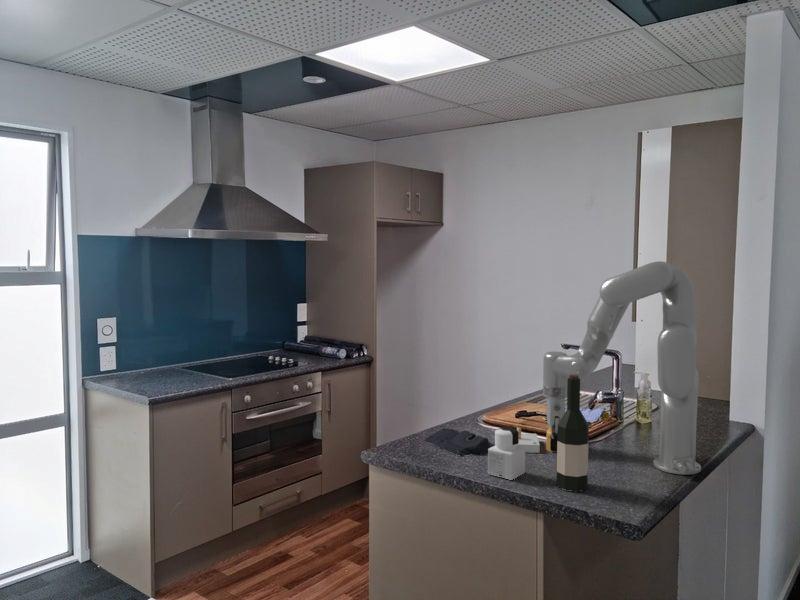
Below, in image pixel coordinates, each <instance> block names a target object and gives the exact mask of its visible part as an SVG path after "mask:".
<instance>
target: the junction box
mask: <svg viewBox="0 0 800 600" xmlns="http://www.w3.org/2000/svg"><path fill="white" fill-rule="evenodd" d="M516 430H517V431H518V432H519V445H518V446H521V447H525V453H531V454H532V453H533V454H536V453H537V454H540V452H541V451H540V448H541V446H540V445H541V443H540V441H539V437H538V434H537V433H528V432H527V433H525V432H523V433H522V427H520V426H519V427H516Z"/></svg>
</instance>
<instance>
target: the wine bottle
mask: <svg viewBox="0 0 800 600" xmlns="http://www.w3.org/2000/svg"><path fill="white" fill-rule="evenodd" d="M589 428H590V427H589V423H588V421H587V419H586V417H585V416H584V415H583V412H582V411H581V379H580V378H579V375H569V377H568V379H567V398H566V409H565V413H564V415H563V417H562V418H561V420H560V421H559V423H558V430H557V452H556V487H557V486H559V487H561V488H563V489H566V490H572V491H580V490H586V489H587V490H588V487H589V486H588V484H589V483H588V482H589V479H588V478H589V476H588V475H589V436H590V435H589V431H590V430H589ZM587 486H588V487H587Z"/></svg>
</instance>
